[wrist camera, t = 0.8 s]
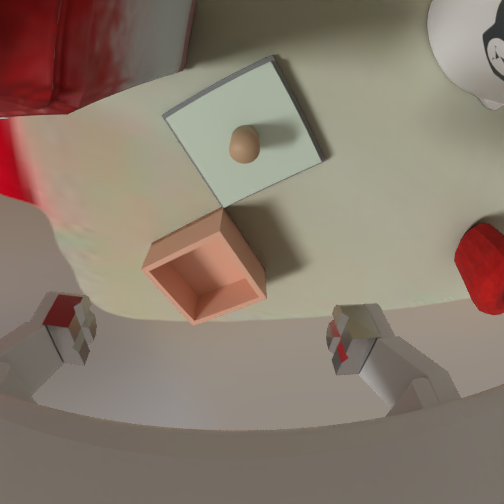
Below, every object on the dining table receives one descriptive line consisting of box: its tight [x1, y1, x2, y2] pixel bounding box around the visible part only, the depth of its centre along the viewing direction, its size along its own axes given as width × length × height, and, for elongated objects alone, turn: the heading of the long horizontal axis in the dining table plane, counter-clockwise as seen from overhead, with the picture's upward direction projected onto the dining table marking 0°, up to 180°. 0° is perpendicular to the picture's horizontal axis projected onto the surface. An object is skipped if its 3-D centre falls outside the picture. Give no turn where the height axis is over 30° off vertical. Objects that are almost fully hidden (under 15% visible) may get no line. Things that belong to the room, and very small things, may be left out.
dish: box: [141, 207, 267, 325], centre depth 40 cm, size 11×11×6 cm
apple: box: [454, 223, 504, 315], centre depth 35 cm, size 10×10×14 cm
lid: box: [166, 61, 321, 207], centre depth 30 cm, size 12×12×5 cm
